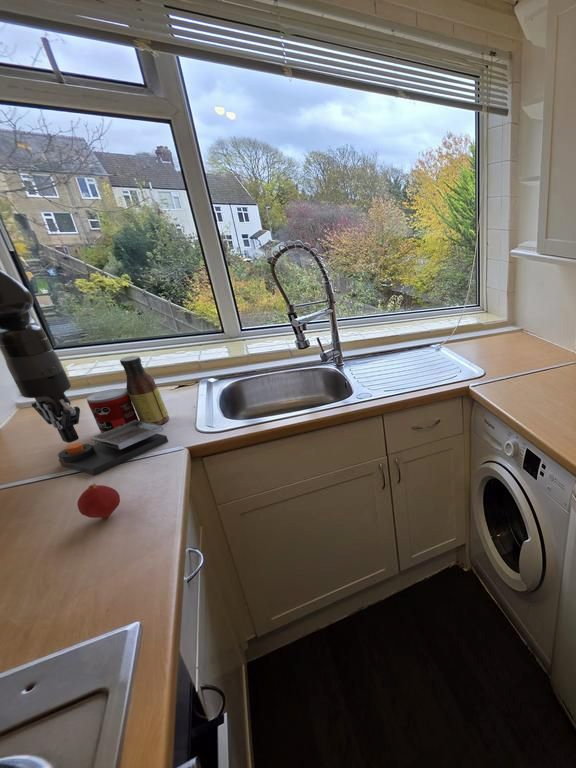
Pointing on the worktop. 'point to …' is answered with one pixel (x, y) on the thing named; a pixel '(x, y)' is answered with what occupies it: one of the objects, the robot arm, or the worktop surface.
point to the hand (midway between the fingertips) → (71, 440)
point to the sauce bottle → (143, 392)
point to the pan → (127, 434)
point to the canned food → (111, 408)
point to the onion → (98, 501)
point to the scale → (107, 455)
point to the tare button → (74, 448)
